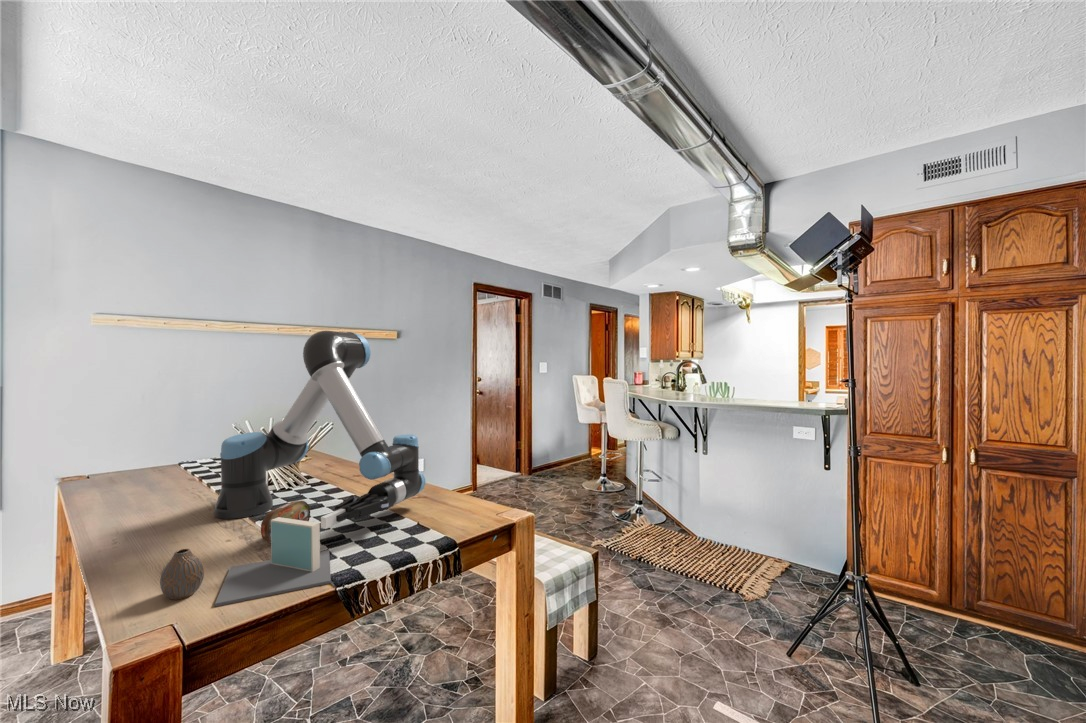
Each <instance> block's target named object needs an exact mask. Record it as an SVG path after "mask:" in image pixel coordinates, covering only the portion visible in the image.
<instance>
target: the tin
mask: <svg viewBox="0 0 1086 723" xmlns="http://www.w3.org/2000/svg"><path fill="white" fill-rule="evenodd" d="M278 517H281V518H288V519H295V520H302V521H309V522H310V518H311V508H310V506H309V504H308V503H307V502H306V501H305V500H295V501H290V502H288V503H285V504H284V505H281V506H280V507H276V508H274V509H272V510H271V511H268V513H266V514H265V515H264V517H263V519H262V520H261V524H260V536H261V538H262V540H263V541H264V542H266V543H268V544H269V543H270V544H271V520H272V519H275V518H278Z"/></svg>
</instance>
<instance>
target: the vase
mask: <svg viewBox="0 0 1086 723" xmlns="http://www.w3.org/2000/svg"><path fill="white" fill-rule="evenodd" d="M204 576H205V568H204V564H203V562H202V560H201V559H200V557H197V556H196V555H195V554H194V553H193V552H192V551H191V549H190V548H181V549H178V550H176V551H175V552H174V554H173V555H172V557H171V558H170V560H169V561H168V562H167V563H166V564H165V566H164V567H163V570H162V571H161V574H160V578H159V586H160V590H161V593H162V594H163V595H164V596H165V597H167V598H168V599H170V600H181V599H186V598H189V597H190V596H192V595H194V594H195V593H196V592H197V591H198V590H199V588H200V587H201V585H202V584H203V580H204Z"/></svg>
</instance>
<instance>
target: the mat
mask: <svg viewBox="0 0 1086 723" xmlns="http://www.w3.org/2000/svg"><path fill="white" fill-rule="evenodd" d="M330 559H331V558H330V549H324V550H320V568H319V569H317V570H315V571H313V572H311V571H306V570H301V569H295V568H290V567H285V566H280V565H274V564H271V559H268V560H262V561H256V562H251V563H246V564H239V565H234V566H230V567H229V569H228V572H227V574H226V577H225V579H224V581H223V584H222V586H221V589H220V591H219V593H218V595H217V598H216V600H215V603H214V608H215V607H221V606H224V605H226V606H227V605H230V604H236V603H241V602H246V601H250V600H256V599H261V598H265V597H271V596H274V595H275V596H276V595H280V594H284V593H291V592H296V591H299V590H305V589H309V588H314V587H319V586H324V585H329V584H332V579H331V562H330V561H331V560H330Z"/></svg>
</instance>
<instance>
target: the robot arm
mask: <svg viewBox="0 0 1086 723" xmlns="http://www.w3.org/2000/svg"><path fill="white" fill-rule="evenodd" d="M371 354H372V352H371V348H370V344H369V341H368V340H367V339H366V338H365V336H364V335H362V334H359V333H355V332H352V331H347V332H343V331H333V330H321V331H317V332H316V333H314V334H312V335H311V336H310V337H308V338H307V340H306V342H305V344H304V346H303V351H302V358H303V363H304V366H305V368H306V371H307V373H308V374H309V376H310V378H309V380H308V381H307V383H306V384H305V385H304V388H303V389H302V390H301V392H300V393H299V394H298V396H297V398H296V400H295V401H294V403H293V404H292V405H291V407H290V409H289V410H288V412H287V413H286V415H285V416H284V417H283V419H282V420H279V421H276V423H274V424H273V426H272V428H271V429H270V430H269V432H268V433H267V434H265V433H264V432H261V431H254V432H252V431H251V432H247V433H240V434H239V433H238V434H237V435H236V434H235V435H233V436H230V437H228V438H226V439H224V441H222V443H221V449H220V451H221V452H220V454H219V456H220V468H221V469H220V470H221V471H220V472H221V473H220V477H221V478H220V482H221V484H220V485H221V487H220V491H219V495H218V498H217V501H216V503H215V506H214V512H213V513H214V517H215V518H217V519H222V520H223V519H225V520H229V519H231V520H233V519H241V518H242V519H243V518H247V517H252V515H253V516H257V515H259V514H263V513H266V512H269V510H271V509H272V508H273V506H274V504H273V503H274V502H273V497H272V494H271V492H270V489H269V487H268V484H267V472H268V471H271V470H276V469H279V468H283V467H286V466H291V465H293V464H296V463H297V462H299V461H301V460H303V459H304V458H305V456H306V455H307V453H308V450H309V445H308V444H309V443H310V442H309V439H310V438H309V437H310V436H309V433H308V432H309V431H310V429H311V428H312V427H313V425H314V423H315V422H316V420H317V419H318V418H319V416H320V414H321V413H322V411H323V410H324V408H325V407H326V406H327V404H328V403H330V405H331V407H332V409H333V410H334V411H335V413H336V416H337V417H338V419H339V421H340V422H341V424H342V426H343V428H344V429H345V432H347V434H348V436H349V438H350V439H351V441H352V443H353V445H354V446H355V448H356V450H357V451H358V454H359V456H360V457H361V458H360V459H359V462H358V467H359V472H360V474H361V476H362V477H364V478H365V479H368V480H378V479H381V478H383V477H386V476H388V475H390V474H393V477H391V478H389V479H386V480H384V481H382V482H380V483H377V484H375V485H372V487H371V488H369V490H368V492H367V493H365V494H362V495H360V496H358V497H356V496H355V495H349V496H348V498H347V499H345V500H343V501H342V502H340V503H338V504H337V505H335V506H334V511H332V512H329V513H327V514H324V515H323V516H321V517H320V529H324V530H327V529H329V528H331V527H333V526H335V525H337V524H340V523H341V522H344V521H346V520H352V519H354V520H359V519H362V518H364V517H369V516H371V515H373V514H376V513H379V512H383V511H388V510H389V509H390V508H391V507H392V508H393V507H395V506H396V505H397V504H400V503H401V502H404V501H405V500H408V499H410V498H413V497H415V496H416V495H418V494H420V493H421V492H422V491H423V490H424V489H425V486H426V482H427V480H426V478H425V476H424V473H422V472H421V471H420V470H419V464H420V461H419V460H420V458H419V452H420V451H419V447H420V446H419V439H418V436H417V435H416V434H399V435H395V436H394V437H393V439H392V443H391V444H392V445H388V444H387V442H386V440H385V439H384V437H383V435H382V434H381V432H380V430H379V429H378V427H377V425H376V423H375V422H374V420H373V418H372V417H371V415H370V413H369V412H368V409H367V408H366V406H365V404H364V402H363V401H362V400H361V398H360V395H359V394H358V393H357V391H356V389H355V387H354V385H353V383H352V382H351V381H350V379H351V377H352V376H353V373H355V371H356V369H361V368H363V367H365V366H366V365H367V364H368V363H369V361H370V359H371Z"/></svg>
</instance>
